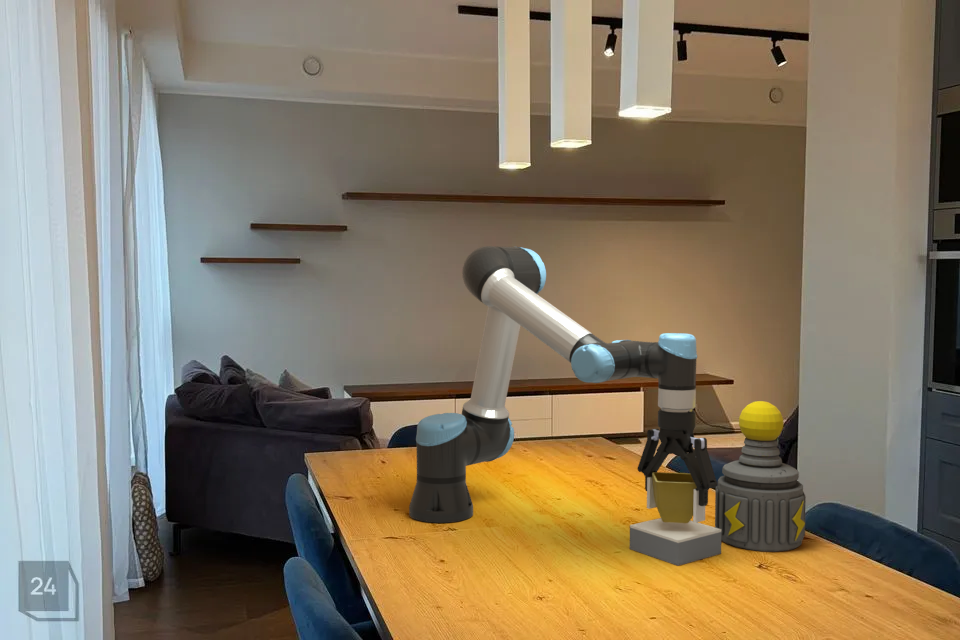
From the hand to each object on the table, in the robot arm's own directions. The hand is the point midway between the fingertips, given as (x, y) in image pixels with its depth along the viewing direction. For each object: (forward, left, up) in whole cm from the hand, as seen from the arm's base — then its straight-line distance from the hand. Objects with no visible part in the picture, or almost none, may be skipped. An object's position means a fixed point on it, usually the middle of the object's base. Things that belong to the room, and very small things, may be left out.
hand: (675, 514), depth 177 cm
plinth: (0, 0, -8) cm, 8 cm away
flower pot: (0, 0, -1) cm, 1 cm away
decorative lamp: (+21, -5, -8) cm, 23 cm away
